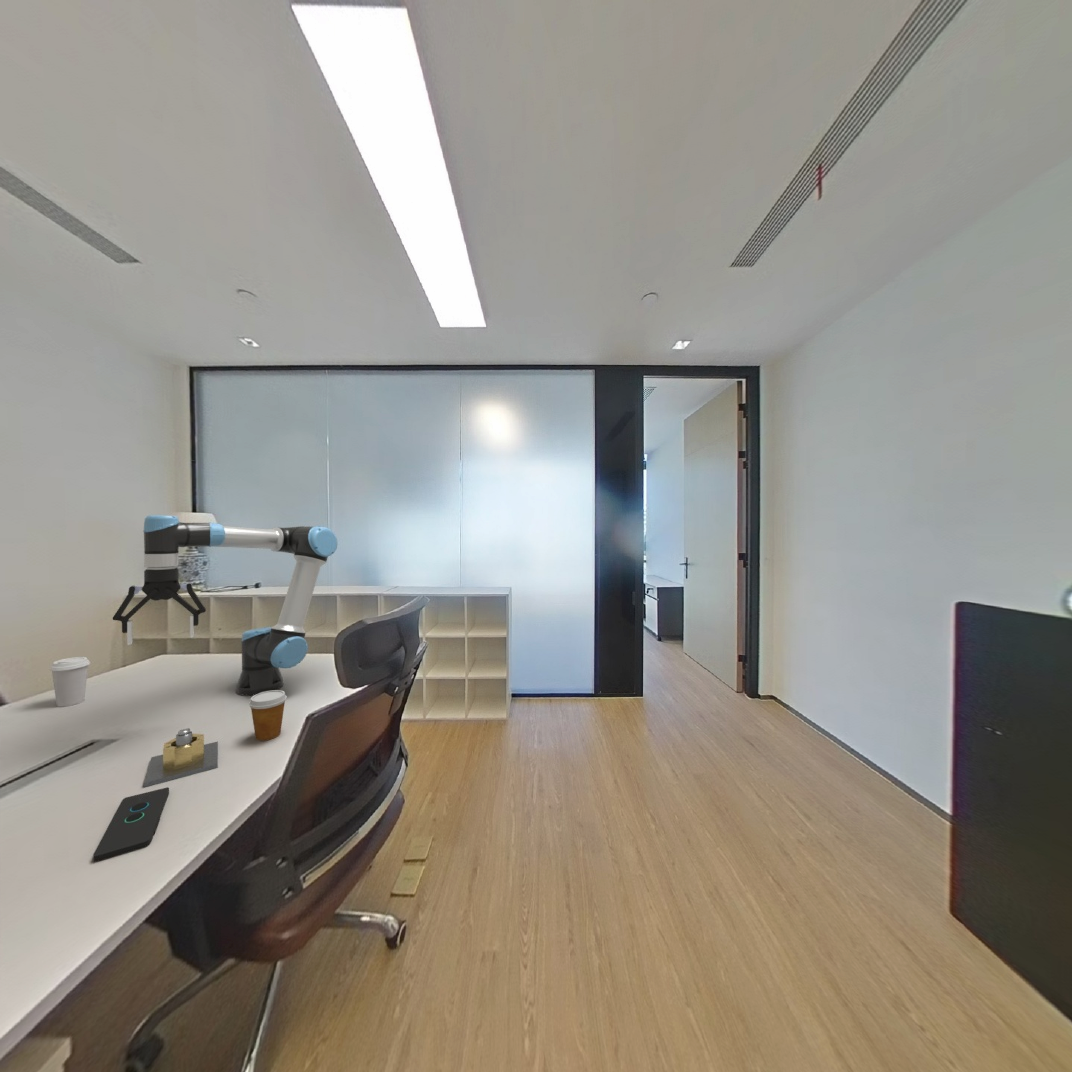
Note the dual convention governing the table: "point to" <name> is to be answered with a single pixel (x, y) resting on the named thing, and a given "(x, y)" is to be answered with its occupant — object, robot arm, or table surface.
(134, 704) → the table surface
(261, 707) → the disposable coffee cup
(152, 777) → the metal peg stand
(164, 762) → the ring
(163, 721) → the table surface
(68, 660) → the coffee cup
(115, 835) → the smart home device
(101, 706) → the table surface
